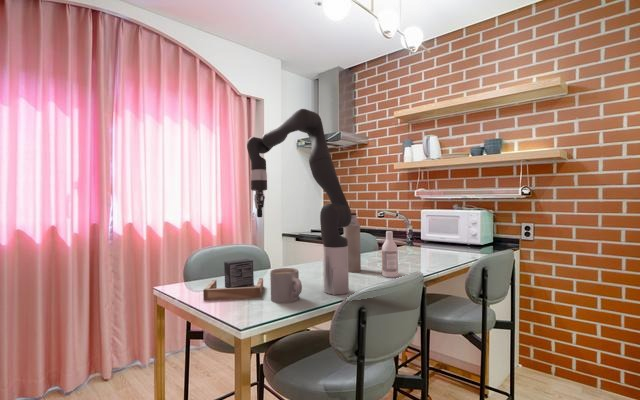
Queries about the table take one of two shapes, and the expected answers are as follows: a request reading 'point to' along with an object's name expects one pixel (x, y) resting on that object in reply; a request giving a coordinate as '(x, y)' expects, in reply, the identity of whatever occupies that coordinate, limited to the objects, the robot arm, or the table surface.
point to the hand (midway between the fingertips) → (259, 217)
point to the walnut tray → (232, 291)
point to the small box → (238, 273)
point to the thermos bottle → (353, 244)
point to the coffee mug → (285, 285)
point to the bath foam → (389, 256)
